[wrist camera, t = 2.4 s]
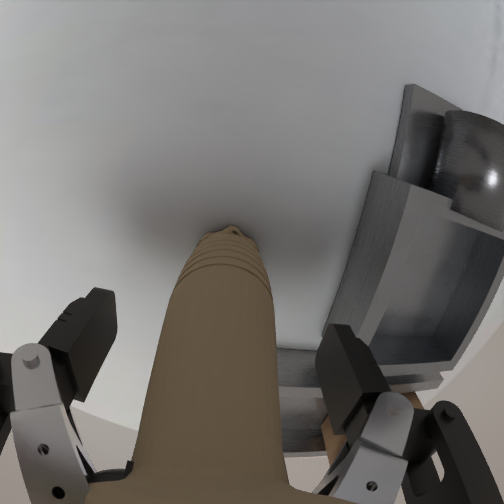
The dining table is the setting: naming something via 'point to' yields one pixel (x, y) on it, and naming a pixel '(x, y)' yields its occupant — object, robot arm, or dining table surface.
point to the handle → (213, 391)
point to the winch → (428, 240)
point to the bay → (319, 400)
